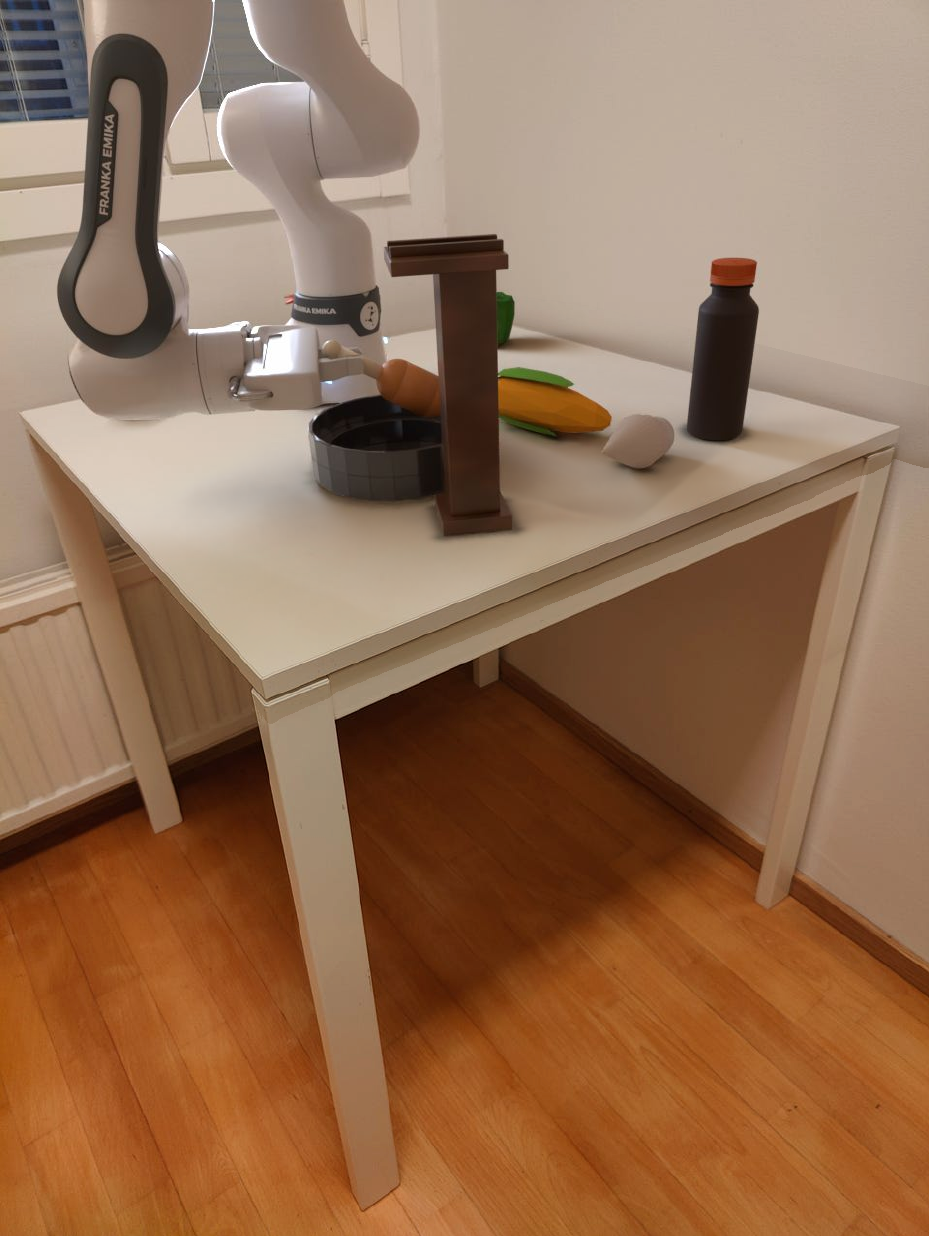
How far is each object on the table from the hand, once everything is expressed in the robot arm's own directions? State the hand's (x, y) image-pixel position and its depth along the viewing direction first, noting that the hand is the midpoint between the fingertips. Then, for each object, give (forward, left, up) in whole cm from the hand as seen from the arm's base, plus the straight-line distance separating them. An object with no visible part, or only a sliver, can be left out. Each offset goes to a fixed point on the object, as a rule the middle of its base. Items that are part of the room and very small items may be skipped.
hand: (362, 360), depth 94 cm
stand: (+16, -5, -13) cm, 21 cm away
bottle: (+28, +32, -13) cm, 45 cm away
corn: (+10, +22, -13) cm, 28 cm away
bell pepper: (-21, +53, -13) cm, 58 cm away
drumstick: (+1, +1, -4) cm, 4 cm away
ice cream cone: (+25, +16, -13) cm, 33 cm away
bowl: (+2, +2, -13) cm, 13 cm away
